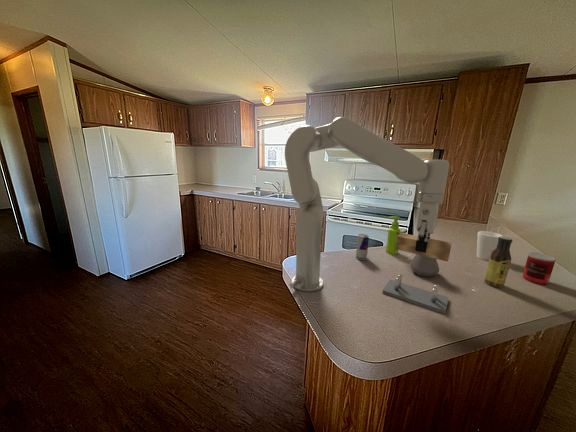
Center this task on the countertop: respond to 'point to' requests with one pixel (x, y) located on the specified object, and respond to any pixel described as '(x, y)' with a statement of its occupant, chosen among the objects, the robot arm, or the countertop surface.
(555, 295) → the countertop surface
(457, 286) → the countertop surface
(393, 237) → the soap dispenser
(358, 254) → the energy drink
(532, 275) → the canned food
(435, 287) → the peg stand
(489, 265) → the sauce bottle
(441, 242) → the shelf board
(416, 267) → the coffee pot
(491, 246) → the foam cup
